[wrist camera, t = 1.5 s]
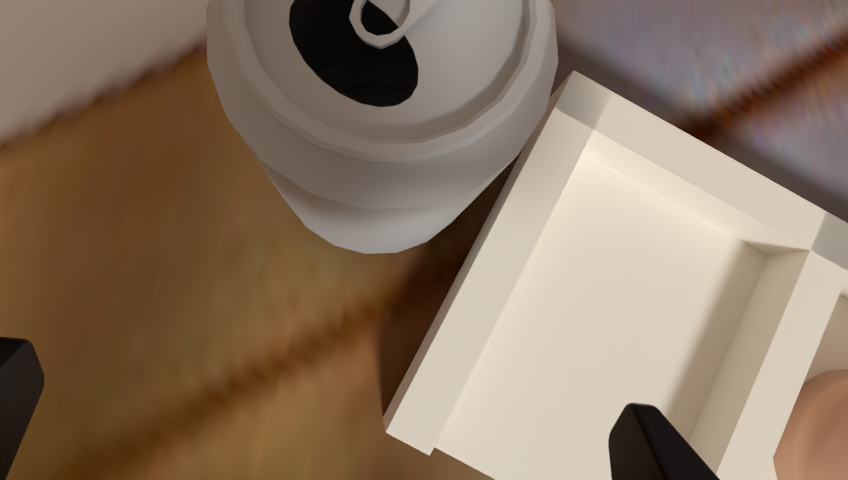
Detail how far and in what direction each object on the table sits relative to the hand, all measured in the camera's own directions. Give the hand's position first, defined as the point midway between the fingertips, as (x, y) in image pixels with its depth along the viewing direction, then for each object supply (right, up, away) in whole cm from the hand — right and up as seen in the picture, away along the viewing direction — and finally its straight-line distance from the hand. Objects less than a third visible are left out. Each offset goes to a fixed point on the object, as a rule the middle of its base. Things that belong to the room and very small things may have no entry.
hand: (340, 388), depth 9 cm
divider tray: (+13, -4, +14) cm, 19 cm away
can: (-1, +5, +14) cm, 15 cm away
